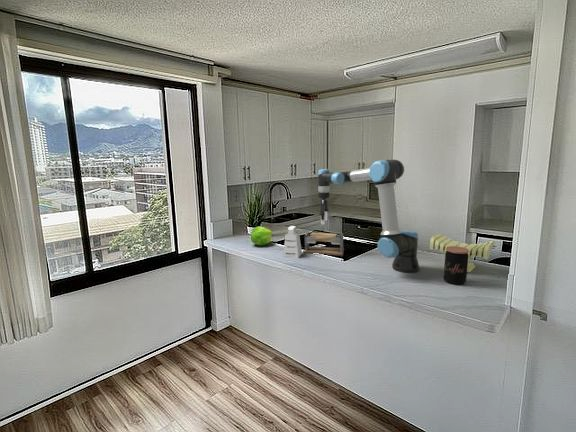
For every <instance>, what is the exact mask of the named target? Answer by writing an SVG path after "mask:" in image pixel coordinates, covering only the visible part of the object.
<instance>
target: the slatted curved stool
mask: <svg viewBox="0 0 576 432" xmlns="http://www.w3.org/2000/svg"><path fill="white" fill-rule="evenodd" d="M495 241H496V240H495V239H494V240H491V241H487V242H484V243H483V242H481V243H473V244H472V243H470V244H469V243H464V242H459V241H457V240H453V239H452V238H450V237H448V236H446V235H443V233H442V232H440V231H439V232H438V233H436V234H434V235H433V236H431V238H430V241H429V250H437V251H438V250H439V252H441V253H442V254H443V253H444V257H445V253H446V247H449V246H458V247H463V248H466V249H468V250H469V252H468V253H467V254H468V266H467V273H471V271H473V270H474V269H475V268H476V266H475V262H474V263H473V262H470V261H471V260H472V258H476V257H477V258H482V259H484V260H489V258H490V253H491V251H492V248H493V247H494V246H495V244H496V243H495Z"/></svg>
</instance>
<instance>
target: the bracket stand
mask: <svg viewBox="0 0 576 432" xmlns="http://www.w3.org/2000/svg"><path fill="white" fill-rule="evenodd" d="M330 243H331V245H339V247H322V246H321V247H320V246H310V244H317V241H316V237H311V233H310V232H309V231H306V232H305V233H304V249H303V254H307V255H308V254H309V255H310V254H311V255H314V254H313V253H319V254H318V255H324V254H327V255H328V256H329V255H331V256H344V251H345V248H344V233H343V232H342V233H341V232H340V234H337V238H334V237H331V242H330Z"/></svg>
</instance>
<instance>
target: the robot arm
mask: <svg viewBox="0 0 576 432" xmlns="http://www.w3.org/2000/svg"><path fill="white" fill-rule="evenodd" d="M404 173H405V165H404V163H402V161H400V160H398V159H379V160H376V161H374V162H373V163H372V164H371V165H370V167H367V168H361V169H354V170H349V171H348V170H347V171H337V172H334V171H333V172H330V169H329V168H321V169H319V170H318V172H317V174H318V175H317V176H318V178H317V181H318V188H317V191H318V198H319V199H321V200H320V213H319V216H320V225H326V222H327V221H328V212H329V209H328V199H329V198H330V197H331V196H330V193H331V192H330V189H331V187H330V184H333V185H341V184H348V183H349V184H351V183H355V182H363V181H372V182H373V183H374V186H375V188H377V194H378V200H379V209H380V218H381V226H382V231H381V233H380V238H379V240H378V241H377V250H378V251H379V253H380V254H381V255H382V256H383V257H384V258H389V259H391V258H394V259H393V261H392V264H391V268H392V269H393V270H394V271H396V272H400V273H407V274H410V273H411V274H412V273H417V272H419V271H420V263H419V260H418V257H417V256H418V243H419V242H418V241H419V234H418V232H417V231H413V230H407V229H400V228H399V219H398V210H397V202H396V201H397V200H396V194H395V185H396V184H397V180H398V179H400V178H401V177H403V175H404Z"/></svg>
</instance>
